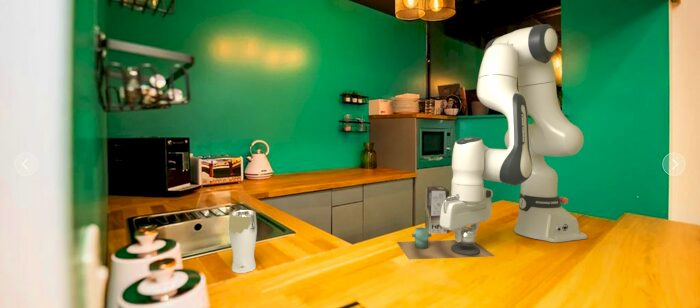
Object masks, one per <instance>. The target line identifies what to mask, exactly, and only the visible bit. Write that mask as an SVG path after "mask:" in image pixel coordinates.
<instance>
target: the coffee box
mask: <svg viewBox="0 0 700 308" xmlns="http://www.w3.org/2000/svg"><path fill="white" fill-rule="evenodd" d="M448 196H450V190H449V189H447V188H446V187H444V186H439V185H438V186H436V185H435V186H425V212H424V214H425V216H424V217H425V219H424V220H425V221H424V224H425V225H424V228H427V229H428V230H429V233H431V234H448V233H449V230H446V229H443V228H441V226H440V215H441V208H442V205H443V202H444V201H445V199H446V198H447V197H448Z"/></svg>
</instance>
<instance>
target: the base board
mask: <svg viewBox="0 0 700 308" xmlns="http://www.w3.org/2000/svg"><path fill="white" fill-rule="evenodd" d="M411 237H412V238H414V241H396V243H397V245H398V246H399V248H400V249H401V250H402V252H403V253H404V255H405V256H406V257H407V259H408V260H431V259H455V258H456V259H457V258H458V259H459V258H481V257H482V258H483V257H484V258H486V257H487V258H488V257H495V255H494V254H493V253H492V252H490V251H489V250H487V249H486V248H484V246H482V245H481V244H479V243H477V242H476V241H475V245H474V246H475V247H477V248H479V249H480V253H479V254H478V255H473V256H468V255H461V254H457V253H455V252H453V251H452V250H451V246H452V245H454V244H457V241H455V239H447V240H446V239H445V240H444V239H443V240H429V238H432V233H430V232H429V230H428V229H427V228H425V227H415V228H414V233H412V234H411Z"/></svg>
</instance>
